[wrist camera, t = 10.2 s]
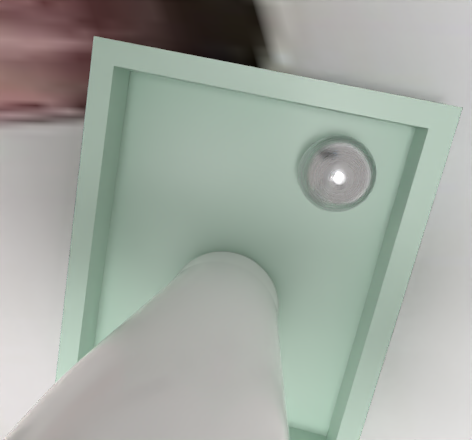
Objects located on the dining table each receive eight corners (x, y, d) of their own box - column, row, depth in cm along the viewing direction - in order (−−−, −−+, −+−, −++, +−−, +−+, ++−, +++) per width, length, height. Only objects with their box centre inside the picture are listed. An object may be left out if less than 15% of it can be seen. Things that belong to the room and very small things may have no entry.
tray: (117, 46, 21) (93, 36, 18) (442, 109, 19) (462, 107, 17) (76, 379, 25) (52, 407, 23) (339, 449, 24) (344, 486, 21)
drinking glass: (288, 228, 21) (273, 468, 6) (299, 359, 22) (305, 805, 8) (151, 237, 22) (-137, 463, 7) (169, 362, 23) (-44, 763, 9)
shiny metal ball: (306, 127, 20) (308, 128, 17) (378, 141, 19) (393, 145, 16) (290, 196, 20) (289, 209, 17) (359, 211, 20) (370, 227, 17)
